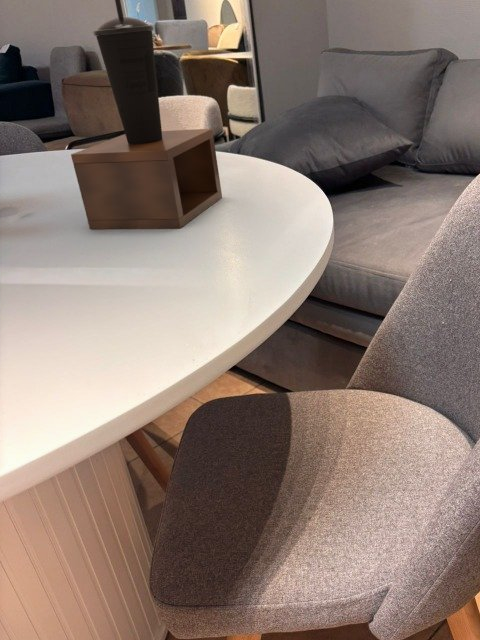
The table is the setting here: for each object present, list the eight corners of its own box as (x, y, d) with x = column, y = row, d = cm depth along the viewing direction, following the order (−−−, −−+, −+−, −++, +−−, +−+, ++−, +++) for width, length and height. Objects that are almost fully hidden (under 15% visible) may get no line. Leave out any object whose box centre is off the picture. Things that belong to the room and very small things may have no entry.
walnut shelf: (89, 228, 90) (70, 154, 85) (141, 199, 103) (127, 132, 98) (180, 228, 86) (166, 150, 81) (222, 197, 99) (212, 128, 94)
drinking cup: (168, 133, 93) (139, -31, 83) (176, 140, 87) (145, -37, 77) (115, 140, 92) (79, -27, 81) (119, 148, 85) (80, -32, 75)
